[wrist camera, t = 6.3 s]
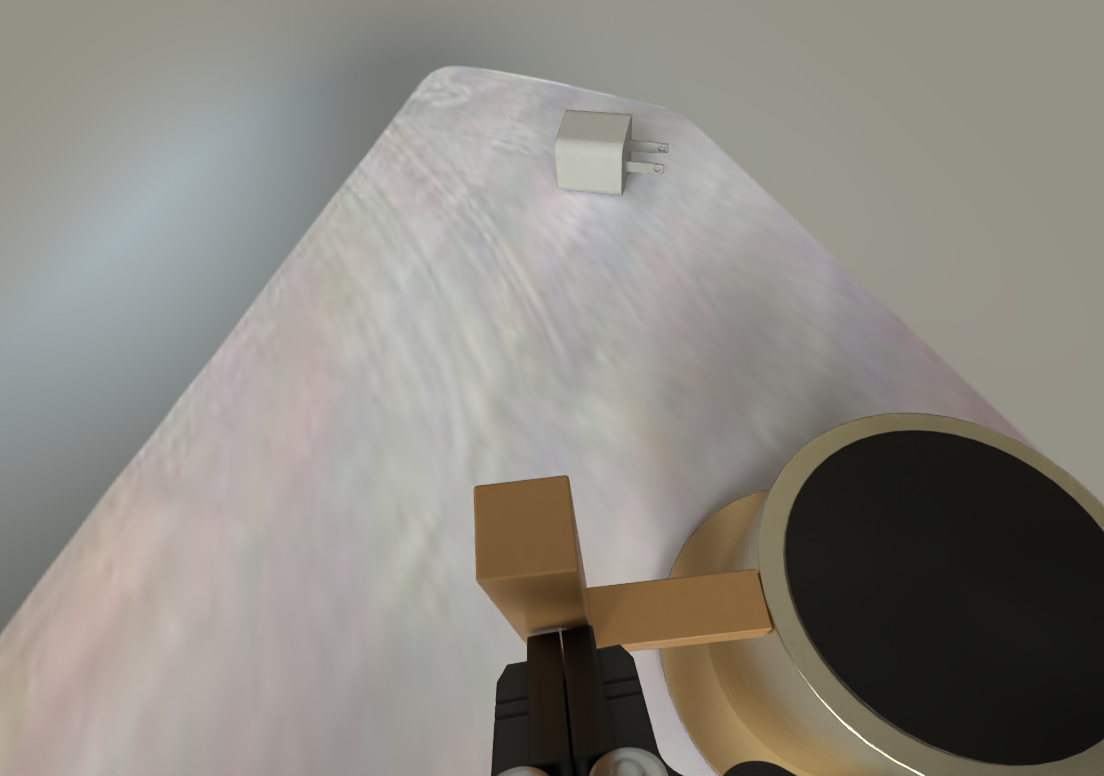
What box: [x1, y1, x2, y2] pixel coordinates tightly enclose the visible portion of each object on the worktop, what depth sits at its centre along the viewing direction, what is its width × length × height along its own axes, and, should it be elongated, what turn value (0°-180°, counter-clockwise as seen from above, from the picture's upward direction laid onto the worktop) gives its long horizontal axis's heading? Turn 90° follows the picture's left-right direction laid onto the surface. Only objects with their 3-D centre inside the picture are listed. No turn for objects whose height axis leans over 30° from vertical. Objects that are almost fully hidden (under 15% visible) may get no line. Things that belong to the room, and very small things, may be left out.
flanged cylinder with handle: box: [474, 413, 1104, 776], centre depth 18 cm, size 16×10×19 cm, turn 95°
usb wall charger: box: [555, 110, 668, 195], centre depth 41 cm, size 4×7×4 cm, turn 77°
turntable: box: [660, 489, 815, 776], centre depth 26 cm, size 14×14×1 cm
